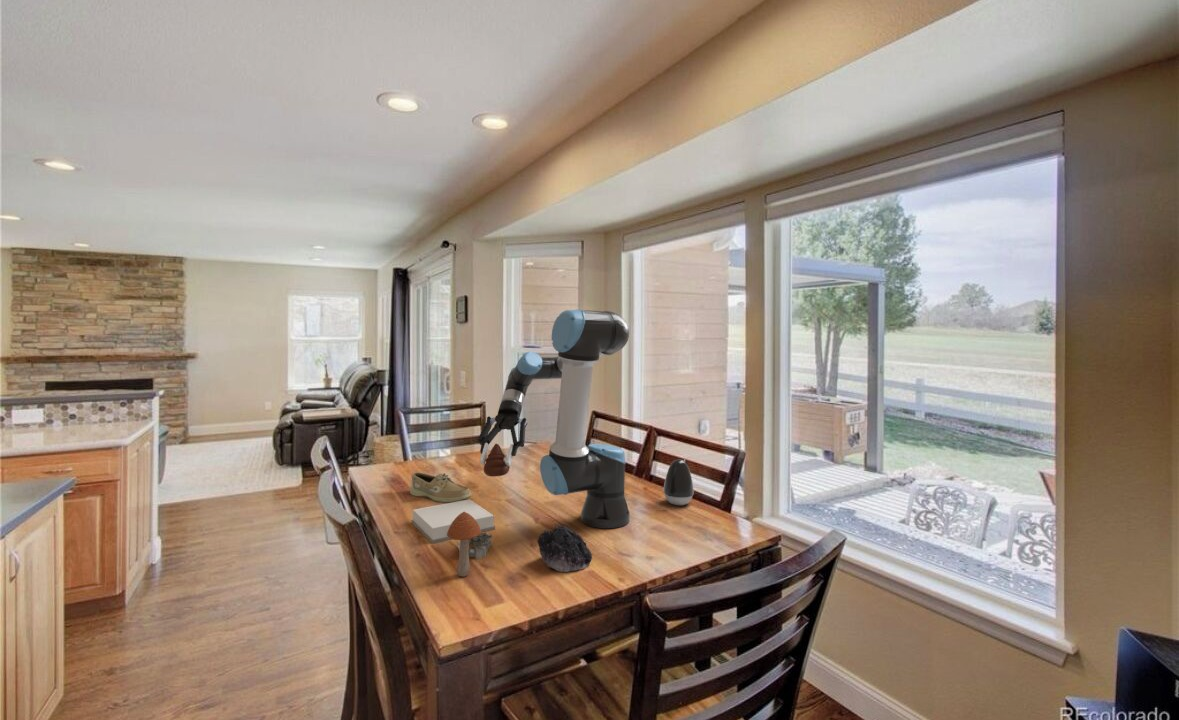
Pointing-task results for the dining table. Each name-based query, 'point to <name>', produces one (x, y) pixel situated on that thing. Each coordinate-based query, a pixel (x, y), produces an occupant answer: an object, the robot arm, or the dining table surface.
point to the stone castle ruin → (479, 545)
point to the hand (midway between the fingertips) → (494, 463)
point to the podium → (449, 518)
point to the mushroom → (463, 538)
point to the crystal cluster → (564, 550)
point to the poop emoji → (496, 463)
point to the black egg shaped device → (678, 483)
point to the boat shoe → (437, 488)
